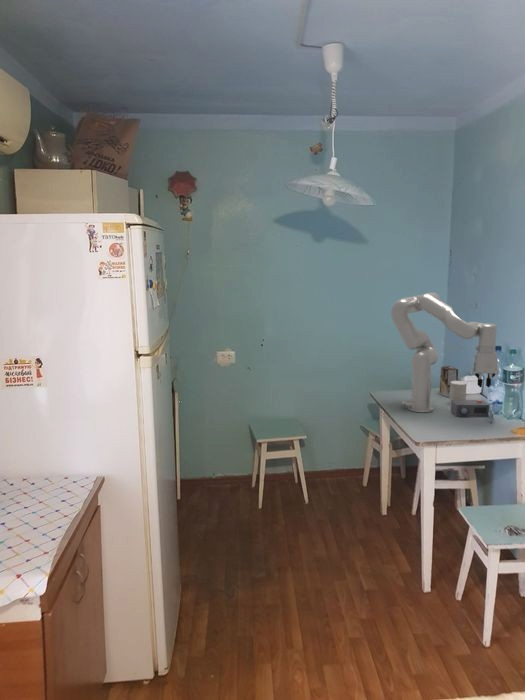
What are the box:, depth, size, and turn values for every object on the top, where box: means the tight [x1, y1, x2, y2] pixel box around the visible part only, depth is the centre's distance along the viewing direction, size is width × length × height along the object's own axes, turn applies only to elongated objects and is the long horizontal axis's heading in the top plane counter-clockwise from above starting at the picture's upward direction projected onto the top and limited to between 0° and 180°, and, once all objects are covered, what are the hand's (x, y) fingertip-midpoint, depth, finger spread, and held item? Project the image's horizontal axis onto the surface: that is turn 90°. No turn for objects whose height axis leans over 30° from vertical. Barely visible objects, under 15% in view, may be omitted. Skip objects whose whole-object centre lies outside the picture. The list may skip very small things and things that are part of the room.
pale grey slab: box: [489, 403, 494, 423], centre depth 257 cm, size 10×2×6 cm, turn 156°
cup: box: [449, 380, 467, 406], centre depth 284 cm, size 8×8×12 cm
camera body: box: [450, 399, 490, 417], centre depth 267 cm, size 16×11×7 cm, turn 86°
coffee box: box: [439, 365, 459, 398], centre depth 301 cm, size 9×6×16 cm
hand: (483, 386), depth 255 cm, fingers open, 3 cm apart
